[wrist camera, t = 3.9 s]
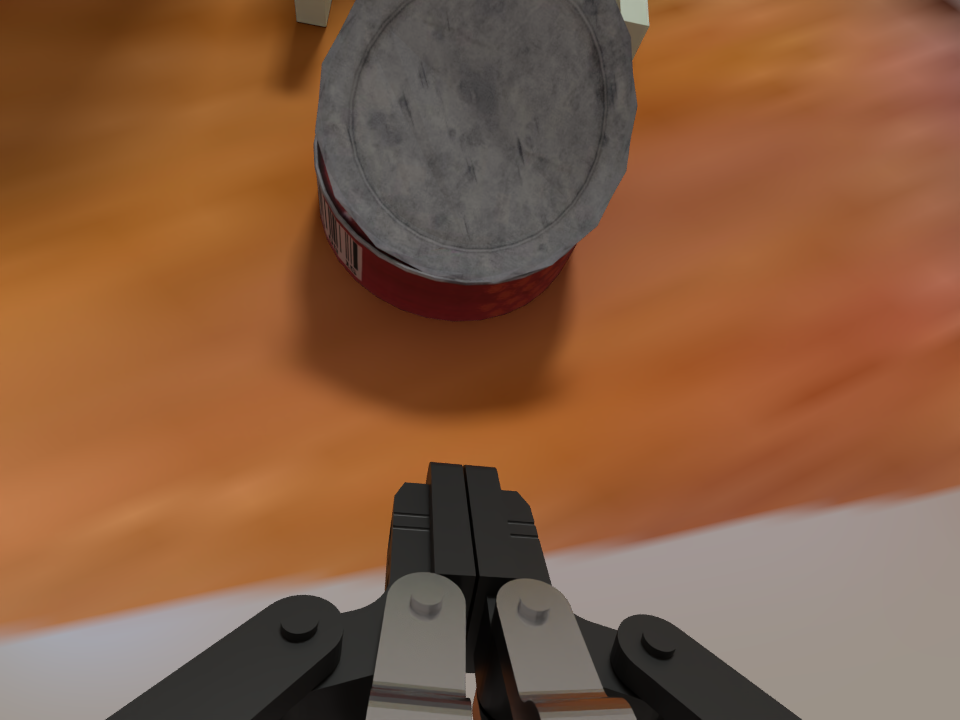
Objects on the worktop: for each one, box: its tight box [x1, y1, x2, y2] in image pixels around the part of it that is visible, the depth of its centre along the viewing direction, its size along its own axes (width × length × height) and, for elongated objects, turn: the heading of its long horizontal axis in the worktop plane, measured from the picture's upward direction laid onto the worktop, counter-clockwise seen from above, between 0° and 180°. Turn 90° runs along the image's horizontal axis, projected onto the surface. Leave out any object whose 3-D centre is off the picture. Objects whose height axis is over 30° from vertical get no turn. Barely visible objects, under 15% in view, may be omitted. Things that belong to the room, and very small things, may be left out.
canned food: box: [314, 0, 637, 321], centre depth 21 cm, size 11×10×10 cm
